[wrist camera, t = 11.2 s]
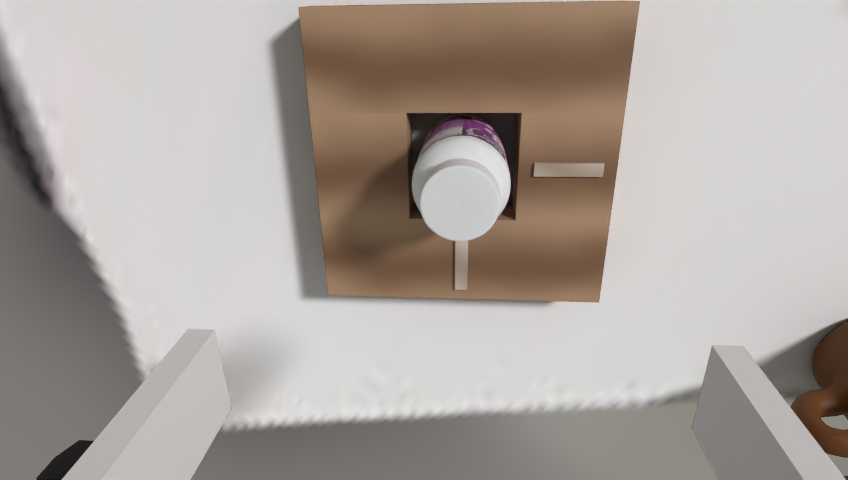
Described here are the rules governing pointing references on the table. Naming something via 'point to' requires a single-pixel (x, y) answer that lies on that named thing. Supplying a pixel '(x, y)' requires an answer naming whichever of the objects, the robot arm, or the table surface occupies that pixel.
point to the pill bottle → (461, 178)
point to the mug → (828, 393)
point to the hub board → (468, 93)
